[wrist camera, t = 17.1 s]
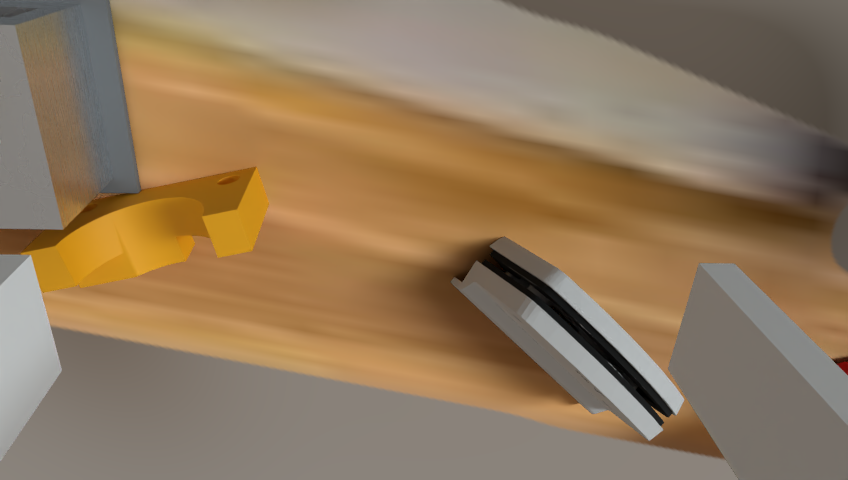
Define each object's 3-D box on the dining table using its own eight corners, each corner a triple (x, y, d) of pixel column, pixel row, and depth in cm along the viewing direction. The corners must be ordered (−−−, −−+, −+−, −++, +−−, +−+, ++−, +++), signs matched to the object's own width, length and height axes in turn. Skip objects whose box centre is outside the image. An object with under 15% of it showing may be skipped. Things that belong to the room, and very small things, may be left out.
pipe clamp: (100, 262, 42) (57, 318, 36) (71, 203, 40) (20, 253, 34) (277, 226, 41) (261, 277, 36) (257, 165, 39) (237, 209, 34)
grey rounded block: (446, 278, 44) (509, 330, 35) (491, 228, 44) (566, 266, 35) (582, 406, 50) (666, 478, 41) (621, 362, 51) (713, 423, 41)
